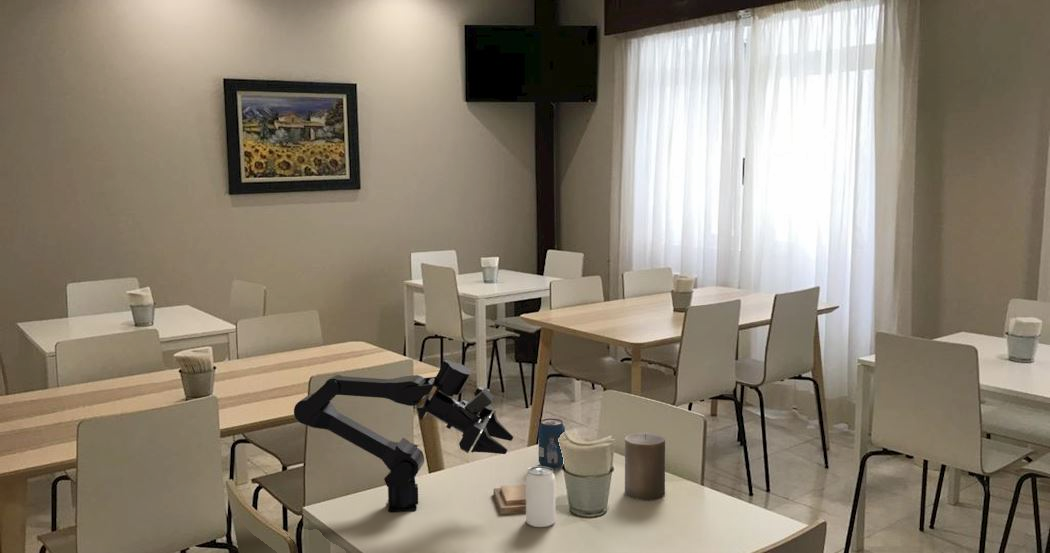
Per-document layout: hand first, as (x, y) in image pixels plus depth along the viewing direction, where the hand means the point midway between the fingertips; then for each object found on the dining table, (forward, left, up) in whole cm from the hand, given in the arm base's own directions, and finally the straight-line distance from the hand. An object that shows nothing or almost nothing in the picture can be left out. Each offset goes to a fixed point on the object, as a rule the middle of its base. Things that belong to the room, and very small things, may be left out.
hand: (509, 445), depth 195 cm
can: (+6, -7, -16) cm, 18 cm away
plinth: (+4, +5, -16) cm, 17 cm away
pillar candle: (+34, +5, -16) cm, 38 cm away
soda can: (+16, +28, -16) cm, 35 cm away
